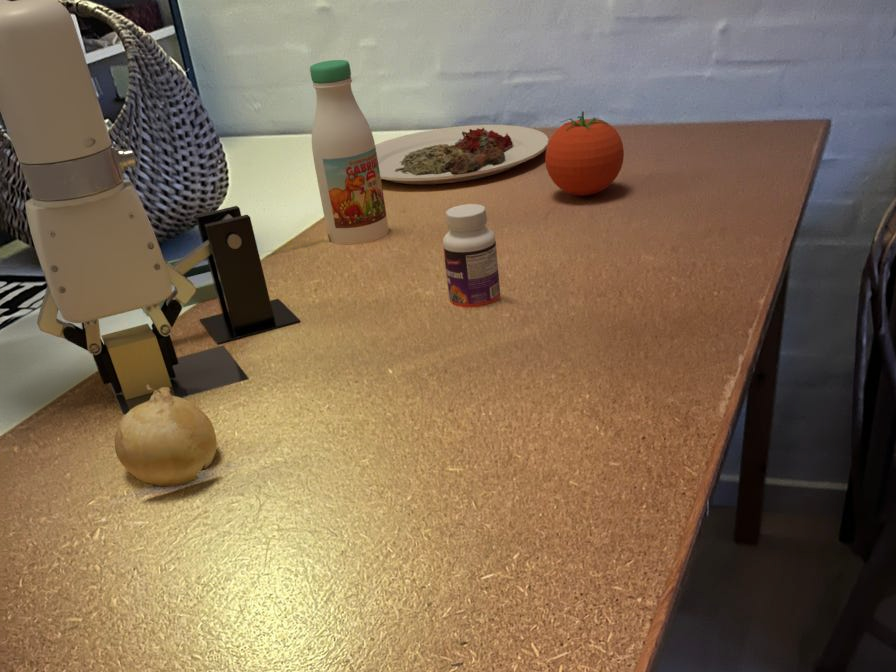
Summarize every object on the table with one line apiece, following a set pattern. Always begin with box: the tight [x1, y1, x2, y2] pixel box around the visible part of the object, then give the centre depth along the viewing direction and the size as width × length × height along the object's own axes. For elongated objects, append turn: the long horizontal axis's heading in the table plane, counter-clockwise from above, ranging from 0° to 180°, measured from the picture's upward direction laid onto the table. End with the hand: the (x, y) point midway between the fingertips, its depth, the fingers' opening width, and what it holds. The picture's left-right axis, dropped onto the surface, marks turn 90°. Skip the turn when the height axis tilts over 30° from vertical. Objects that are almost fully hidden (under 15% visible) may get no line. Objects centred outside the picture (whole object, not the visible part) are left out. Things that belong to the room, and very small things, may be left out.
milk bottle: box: [309, 59, 389, 246], centre depth 118 cm, size 8×8×20 cm
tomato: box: [544, 111, 625, 197], centre depth 127 cm, size 10×10×10 cm
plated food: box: [375, 124, 549, 185], centre depth 149 cm, size 30×30×3 cm
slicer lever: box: [172, 214, 233, 275], centre depth 98 cm, size 12×5×2 cm, turn 116°
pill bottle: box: [442, 203, 501, 308], centre depth 101 cm, size 5×5×10 cm
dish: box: [141, 257, 218, 317], centre depth 115 cm, size 12×12×3 cm
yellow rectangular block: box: [100, 323, 172, 400], centre depth 92 cm, size 4×4×5 cm
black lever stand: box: [194, 205, 301, 346], centre depth 101 cm, size 9×8×12 cm
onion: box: [114, 385, 218, 488], centre depth 79 cm, size 8×8×7 cm
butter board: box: [108, 344, 250, 416], centre depth 95 cm, size 12×10×1 cm
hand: (142, 378), depth 93 cm, fingers closed on yellow rectangular block, 4 cm apart
